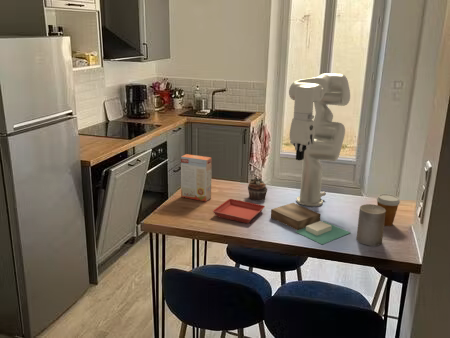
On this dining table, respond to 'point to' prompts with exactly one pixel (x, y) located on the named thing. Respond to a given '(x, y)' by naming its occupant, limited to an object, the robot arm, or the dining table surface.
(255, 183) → the cupcake
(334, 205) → the dining table surface
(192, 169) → the cracker box
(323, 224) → the beige flat block
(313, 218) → the brown flat block
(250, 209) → the plant saucer
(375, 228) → the pillar candle
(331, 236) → the mat
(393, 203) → the disposable coffee cup
